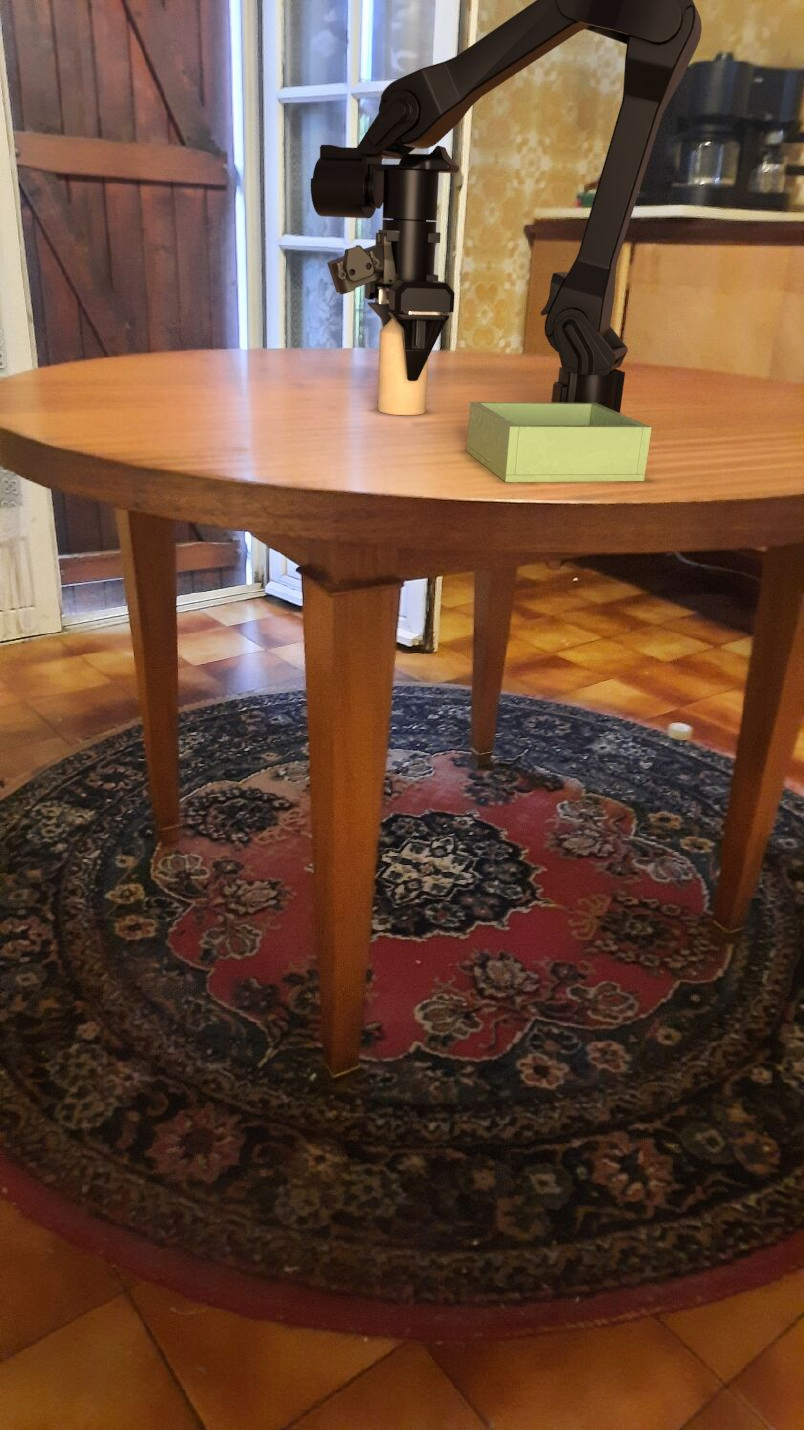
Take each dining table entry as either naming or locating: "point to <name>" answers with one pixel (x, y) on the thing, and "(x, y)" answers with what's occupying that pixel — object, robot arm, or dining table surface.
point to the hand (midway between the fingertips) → (403, 375)
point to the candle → (398, 376)
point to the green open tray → (557, 442)
